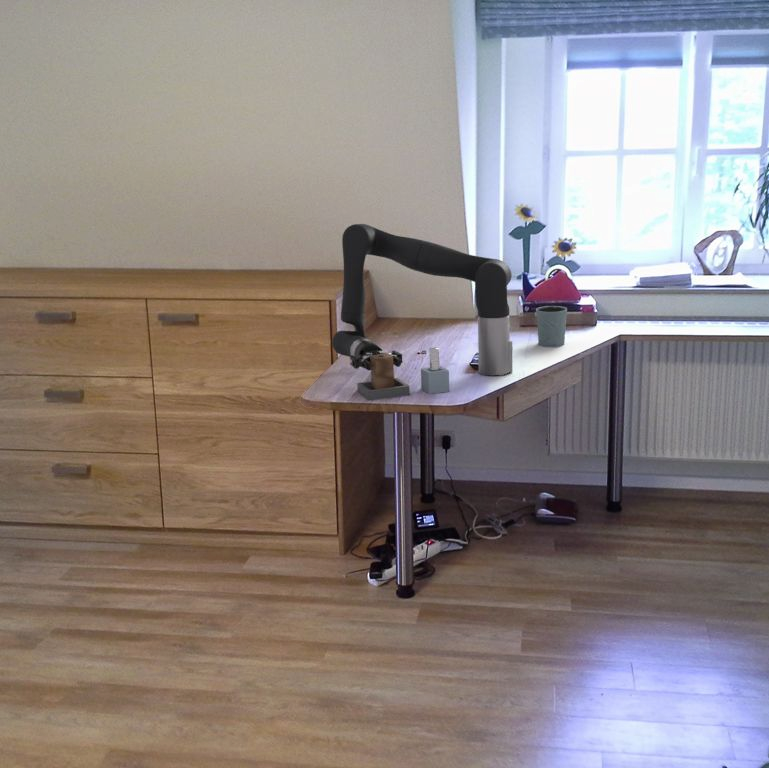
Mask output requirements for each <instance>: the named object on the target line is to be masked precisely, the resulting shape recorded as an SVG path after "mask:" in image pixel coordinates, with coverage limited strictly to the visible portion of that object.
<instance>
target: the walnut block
mask: <svg viewBox="0 0 769 768" xmlns="http://www.w3.org/2000/svg"><path fill="white" fill-rule="evenodd" d="M388 353H389V352H388ZM388 353H385V354H377V355H370V361H371V370H370V377H371V382H372V390H375V389H383V388H390V387H394V378H395V374H394V373H395V371H394V370H395V369H394V366H395V365H393V357H392V356H391V355H389V354H388Z"/></svg>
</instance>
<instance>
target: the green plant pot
mask: <svg viewBox="0 0 769 768" xmlns="http://www.w3.org/2000/svg"><path fill="white" fill-rule="evenodd" d="M535 314H536V321H537V322H536V324H537V339H538V341H537V343H538V345H539V346H541V347H544V348H545V347H548V348H552V347H553V348H554V347H555V348H556V347H563V346H564V345H565V341H566V340H565V338H566V336H565V335H566V326H567V314H568V308H567V307H566V306H560V305H557V306H556V305H545V306H539V307H537V308H535Z"/></svg>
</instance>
